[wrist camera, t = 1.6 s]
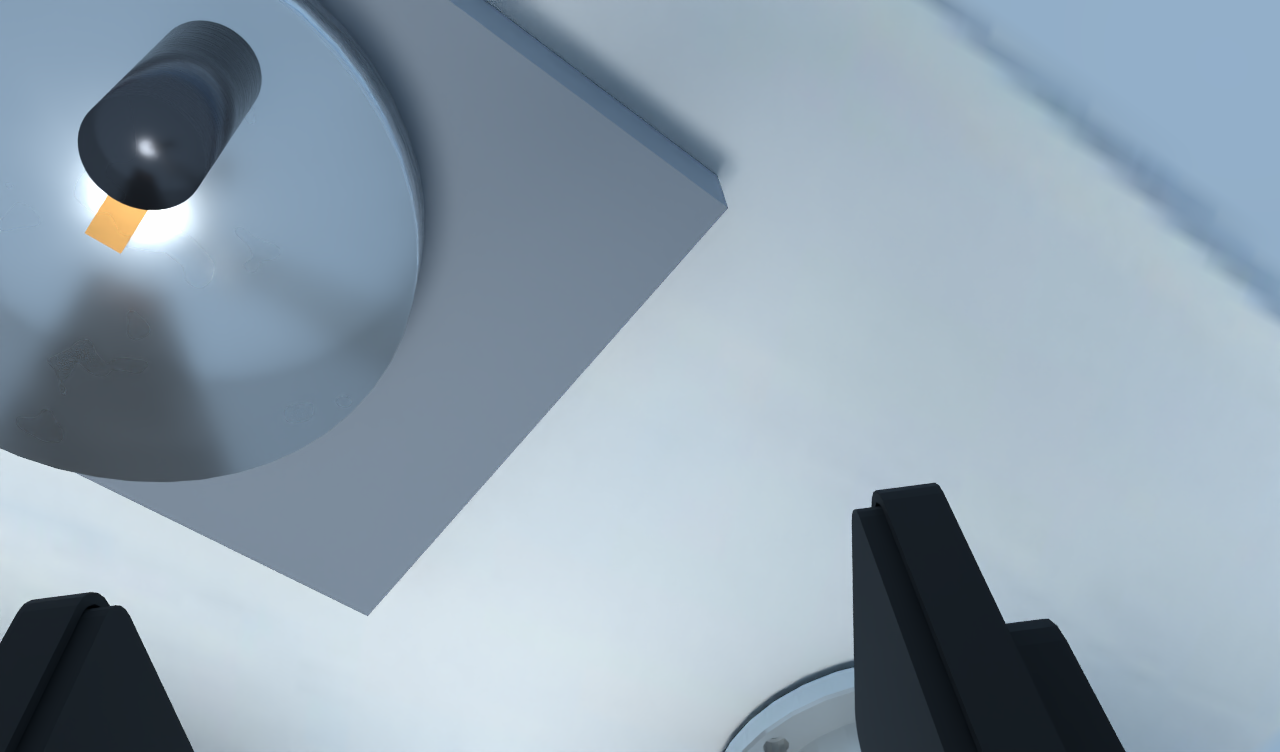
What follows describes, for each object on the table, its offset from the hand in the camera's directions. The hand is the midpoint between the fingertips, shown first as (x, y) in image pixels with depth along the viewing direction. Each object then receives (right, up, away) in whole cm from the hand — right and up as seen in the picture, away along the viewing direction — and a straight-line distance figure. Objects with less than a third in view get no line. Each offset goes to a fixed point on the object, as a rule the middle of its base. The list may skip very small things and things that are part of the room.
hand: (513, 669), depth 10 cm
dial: (-10, +7, +16) cm, 20 cm away
